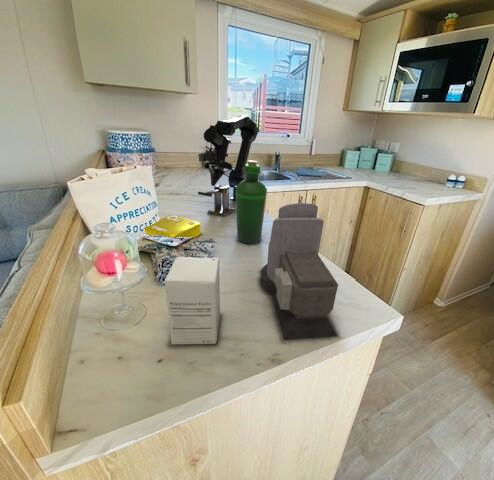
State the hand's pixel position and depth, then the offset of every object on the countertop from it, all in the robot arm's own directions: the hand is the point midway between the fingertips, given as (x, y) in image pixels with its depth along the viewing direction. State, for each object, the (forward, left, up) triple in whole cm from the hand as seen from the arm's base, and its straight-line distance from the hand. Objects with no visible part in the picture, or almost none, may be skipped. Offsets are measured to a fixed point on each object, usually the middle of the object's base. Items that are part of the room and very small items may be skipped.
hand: (212, 185), depth 120 cm
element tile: (+30, +2, -12) cm, 32 cm away
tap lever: (+4, +3, -3) cm, 6 cm away
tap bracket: (-2, +3, -12) cm, 13 cm away
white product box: (+65, +37, -12) cm, 76 cm away
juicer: (+44, +52, -12) cm, 69 cm away
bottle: (+19, +27, -12) cm, 35 cm away
